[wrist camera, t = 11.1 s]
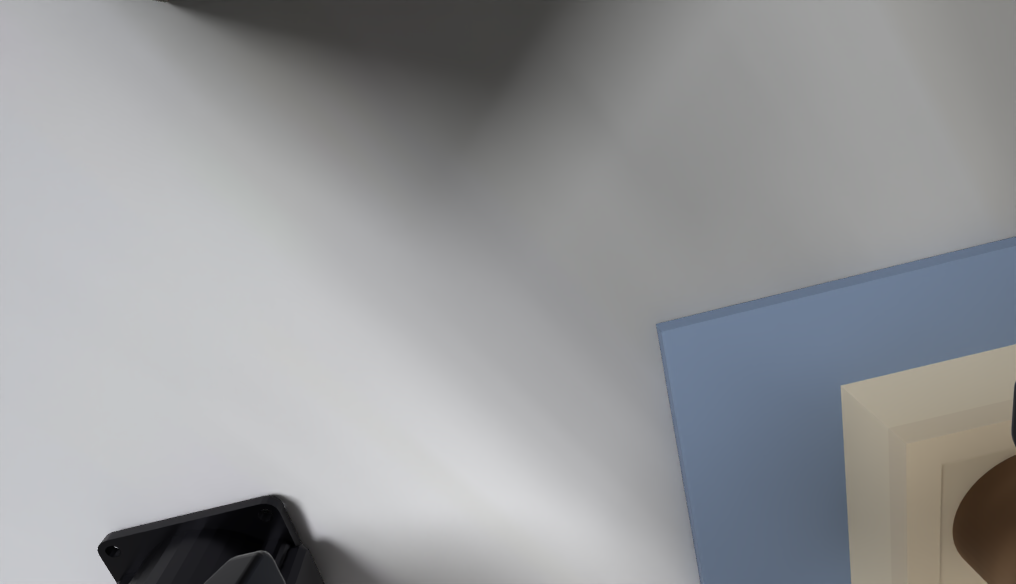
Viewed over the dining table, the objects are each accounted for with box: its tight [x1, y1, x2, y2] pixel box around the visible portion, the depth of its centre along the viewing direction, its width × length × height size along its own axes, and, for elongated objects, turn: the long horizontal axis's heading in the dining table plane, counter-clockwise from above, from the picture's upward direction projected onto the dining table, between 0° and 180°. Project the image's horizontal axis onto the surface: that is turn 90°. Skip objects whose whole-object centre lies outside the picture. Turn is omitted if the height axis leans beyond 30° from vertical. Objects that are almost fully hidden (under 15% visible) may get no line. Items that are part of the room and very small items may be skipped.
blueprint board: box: [656, 237, 1016, 584], centre depth 20 cm, size 20×16×4 cm
